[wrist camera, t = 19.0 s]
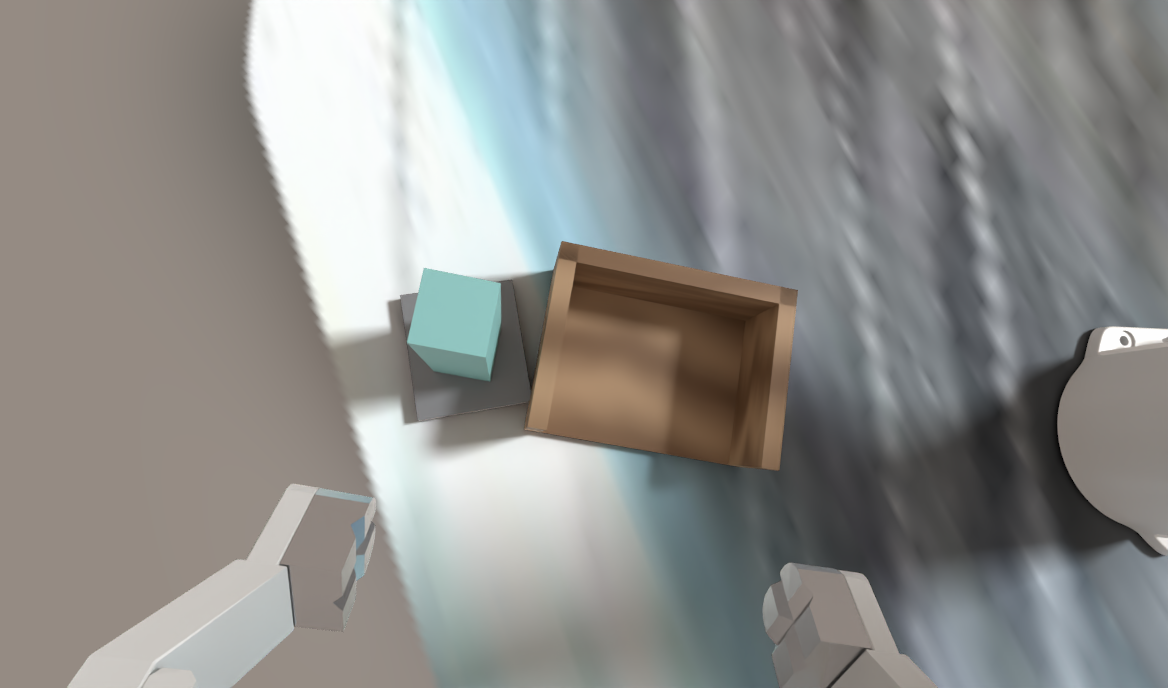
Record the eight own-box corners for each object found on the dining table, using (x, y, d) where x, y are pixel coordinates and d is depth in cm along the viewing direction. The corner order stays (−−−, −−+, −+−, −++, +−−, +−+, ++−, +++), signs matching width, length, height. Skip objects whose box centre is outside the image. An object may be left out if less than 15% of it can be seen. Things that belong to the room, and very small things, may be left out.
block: (490, 381, 42) (485, 357, 30) (433, 371, 42) (406, 342, 30) (501, 327, 43) (500, 283, 31) (445, 316, 42) (424, 267, 31)
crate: (739, 467, 44) (779, 470, 38) (523, 429, 43) (527, 426, 36) (757, 311, 47) (797, 290, 40) (553, 269, 45) (561, 241, 39)
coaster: (511, 283, 44) (512, 279, 43) (531, 401, 43) (532, 401, 42) (402, 298, 43) (400, 295, 42) (419, 421, 42) (417, 420, 41)
